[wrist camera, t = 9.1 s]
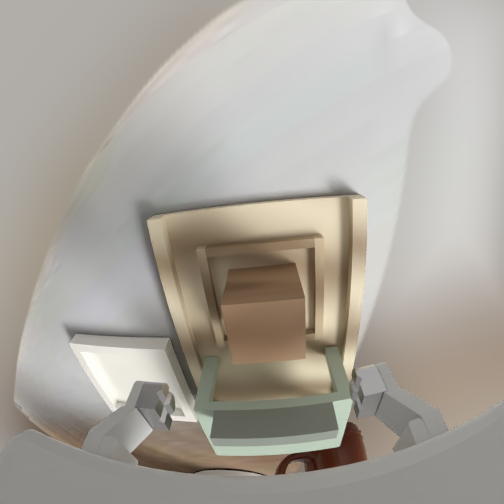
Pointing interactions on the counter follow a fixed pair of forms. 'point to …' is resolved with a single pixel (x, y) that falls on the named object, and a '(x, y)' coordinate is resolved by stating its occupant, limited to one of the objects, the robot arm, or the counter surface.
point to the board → (256, 255)
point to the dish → (133, 368)
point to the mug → (330, 453)
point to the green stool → (274, 416)
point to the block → (265, 314)
